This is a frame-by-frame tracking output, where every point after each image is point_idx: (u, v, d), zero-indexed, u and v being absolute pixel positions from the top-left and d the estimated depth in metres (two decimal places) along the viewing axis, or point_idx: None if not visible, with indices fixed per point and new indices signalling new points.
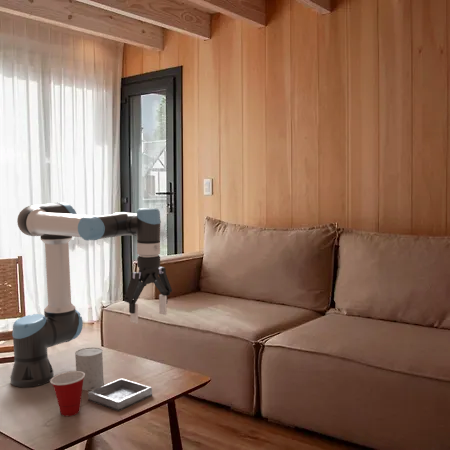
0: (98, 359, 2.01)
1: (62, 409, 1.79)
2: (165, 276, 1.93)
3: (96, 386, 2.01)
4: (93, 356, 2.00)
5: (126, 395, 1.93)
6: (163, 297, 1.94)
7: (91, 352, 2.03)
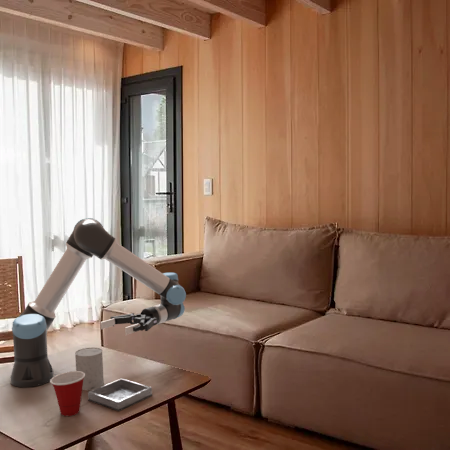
0: (98, 359, 2.01)
1: (62, 409, 1.79)
2: None
3: (96, 386, 2.01)
4: (93, 356, 2.00)
5: (126, 395, 1.93)
6: (113, 323, 2.21)
7: (91, 352, 2.03)
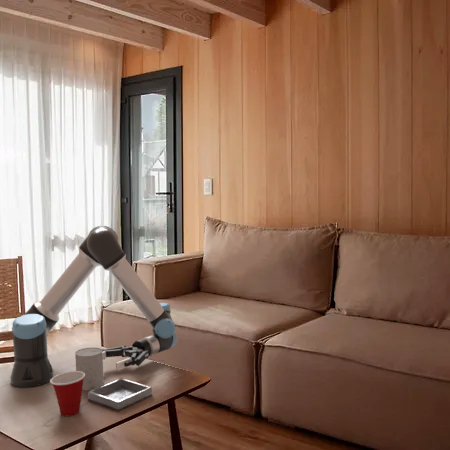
0: (98, 359, 2.01)
1: (62, 409, 1.79)
2: None
3: (96, 386, 2.01)
4: (93, 356, 2.00)
5: (126, 395, 1.93)
6: (104, 357, 2.17)
7: (91, 352, 2.03)
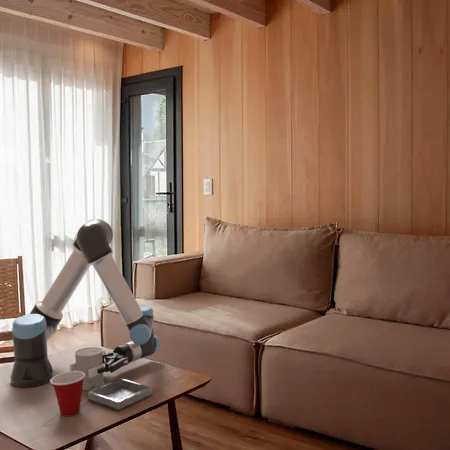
0: (98, 359, 2.01)
1: (62, 409, 1.79)
2: None
3: (96, 386, 2.01)
4: (93, 356, 2.00)
5: (126, 395, 1.93)
6: None
7: (91, 352, 2.03)
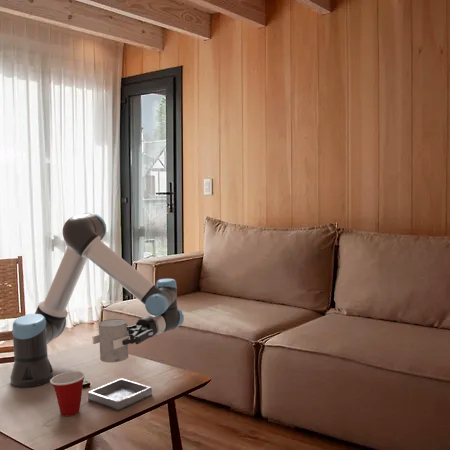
0: (123, 330, 1.91)
1: (62, 409, 1.79)
2: None
3: (121, 358, 1.91)
4: (118, 326, 1.89)
5: (126, 395, 1.93)
6: None
7: (115, 323, 1.93)
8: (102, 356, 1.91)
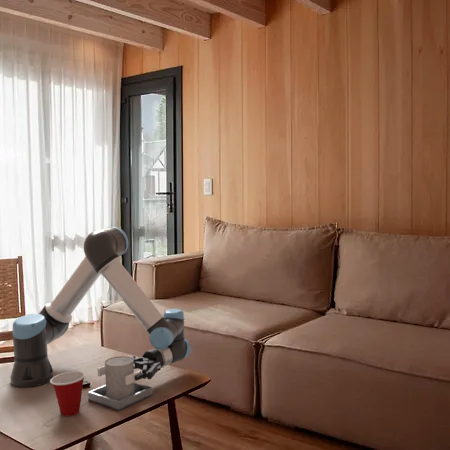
0: (130, 369, 1.89)
1: (62, 409, 1.79)
2: None
3: None
4: (124, 366, 1.87)
5: None
6: None
7: (121, 361, 1.91)
8: (108, 395, 1.89)
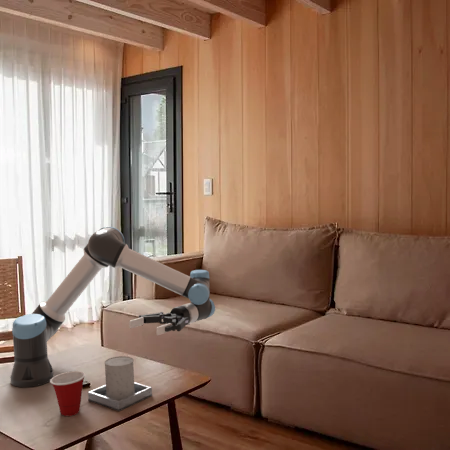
0: (130, 369, 1.89)
1: (62, 409, 1.79)
2: None
3: None
4: (124, 366, 1.87)
5: None
6: (142, 322, 2.08)
7: (121, 361, 1.91)
8: (108, 395, 1.89)
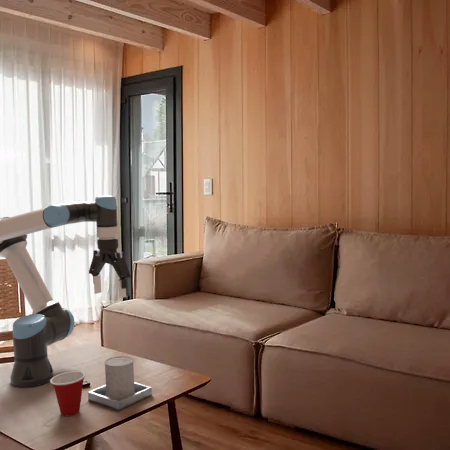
0: (130, 369, 1.89)
1: (62, 409, 1.79)
2: None
3: None
4: (124, 366, 1.87)
5: None
6: (99, 277, 2.14)
7: (121, 361, 1.91)
8: (108, 395, 1.89)
